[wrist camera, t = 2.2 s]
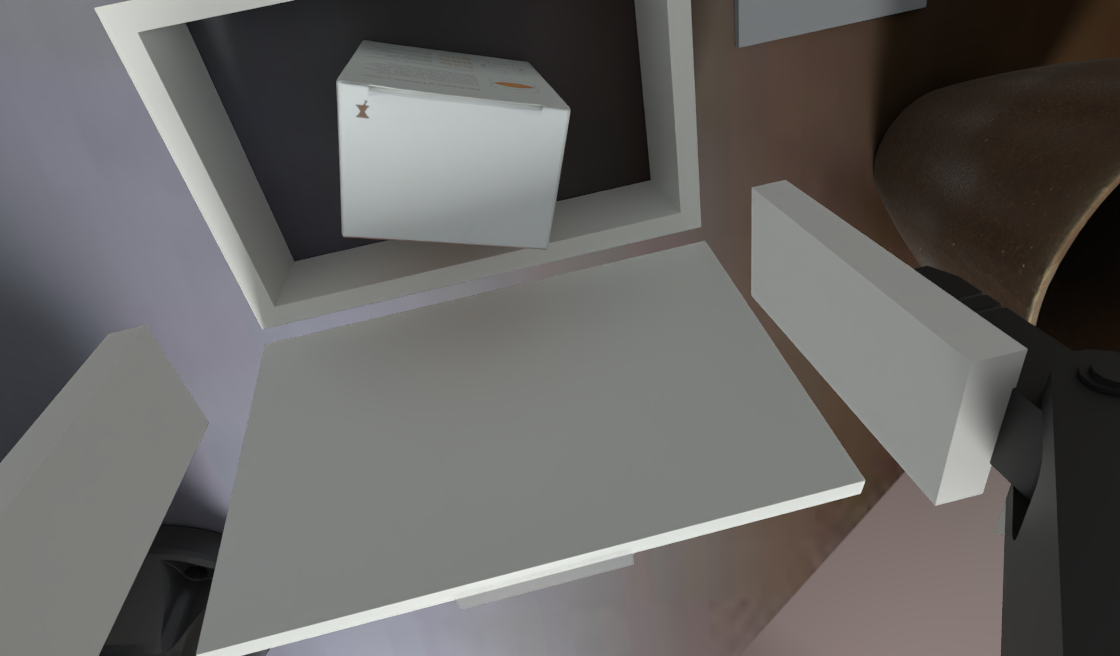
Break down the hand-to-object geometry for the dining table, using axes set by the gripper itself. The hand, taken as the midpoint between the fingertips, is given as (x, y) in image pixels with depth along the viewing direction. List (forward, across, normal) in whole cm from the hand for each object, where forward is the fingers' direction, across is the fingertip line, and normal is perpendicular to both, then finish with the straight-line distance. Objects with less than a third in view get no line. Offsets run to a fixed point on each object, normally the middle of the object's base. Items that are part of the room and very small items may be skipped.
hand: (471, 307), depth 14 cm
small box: (+20, 0, 0) cm, 21 cm away
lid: (+8, 0, -9) cm, 12 cm away
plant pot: (+21, +27, -8) cm, 35 cm away
